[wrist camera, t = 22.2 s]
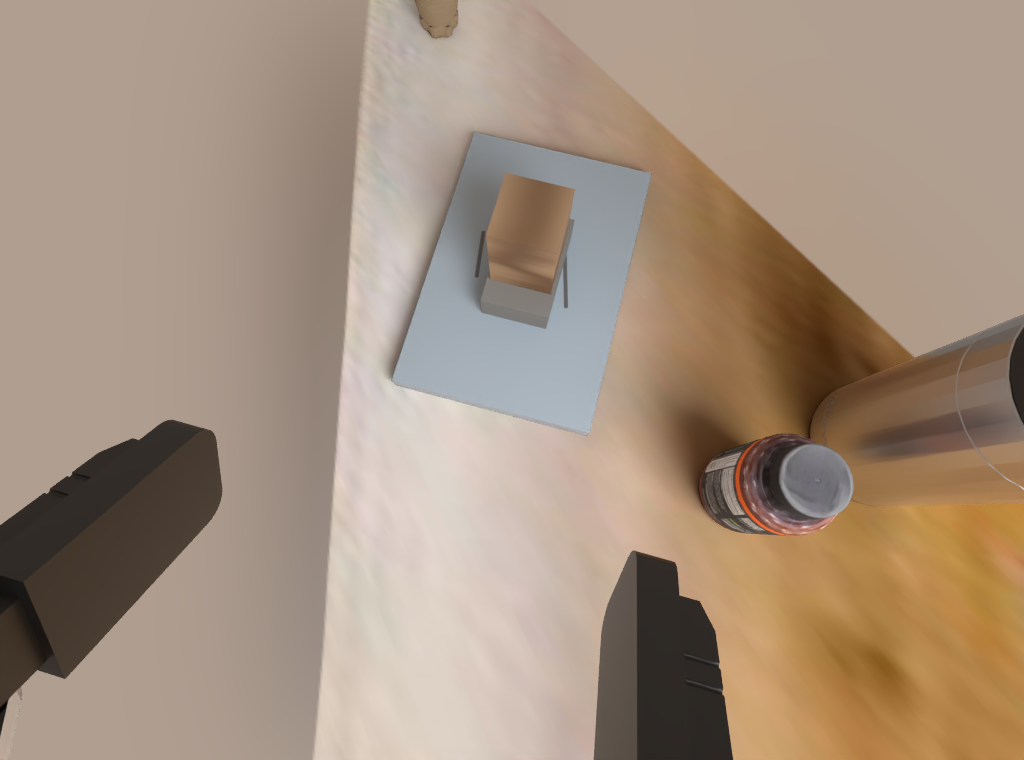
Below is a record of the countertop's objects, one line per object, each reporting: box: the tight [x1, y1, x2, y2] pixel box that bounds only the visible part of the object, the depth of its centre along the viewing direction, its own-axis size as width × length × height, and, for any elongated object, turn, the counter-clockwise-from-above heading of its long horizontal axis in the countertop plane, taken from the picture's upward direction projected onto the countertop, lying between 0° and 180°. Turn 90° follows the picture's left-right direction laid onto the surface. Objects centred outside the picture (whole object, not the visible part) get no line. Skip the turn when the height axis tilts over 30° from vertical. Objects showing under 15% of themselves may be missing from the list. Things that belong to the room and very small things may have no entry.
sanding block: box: [480, 173, 575, 329], centre depth 39 cm, size 5×8×9 cm, turn 165°
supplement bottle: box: [699, 434, 854, 536], centre depth 35 cm, size 6×6×11 cm
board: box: [392, 132, 652, 436], centre depth 44 cm, size 15×22×2 cm
